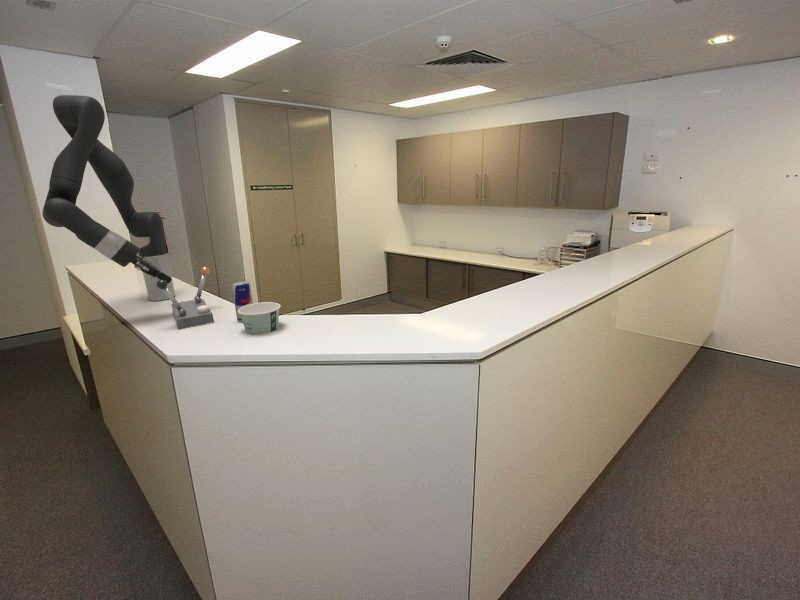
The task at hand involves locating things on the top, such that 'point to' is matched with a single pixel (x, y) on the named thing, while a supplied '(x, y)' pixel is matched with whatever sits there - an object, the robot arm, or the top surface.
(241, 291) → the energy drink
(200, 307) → the push button
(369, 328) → the top surface
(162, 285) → the black knob lever
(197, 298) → the orange knob lever
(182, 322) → the control panel
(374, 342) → the top surface
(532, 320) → the top surface
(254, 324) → the food container
